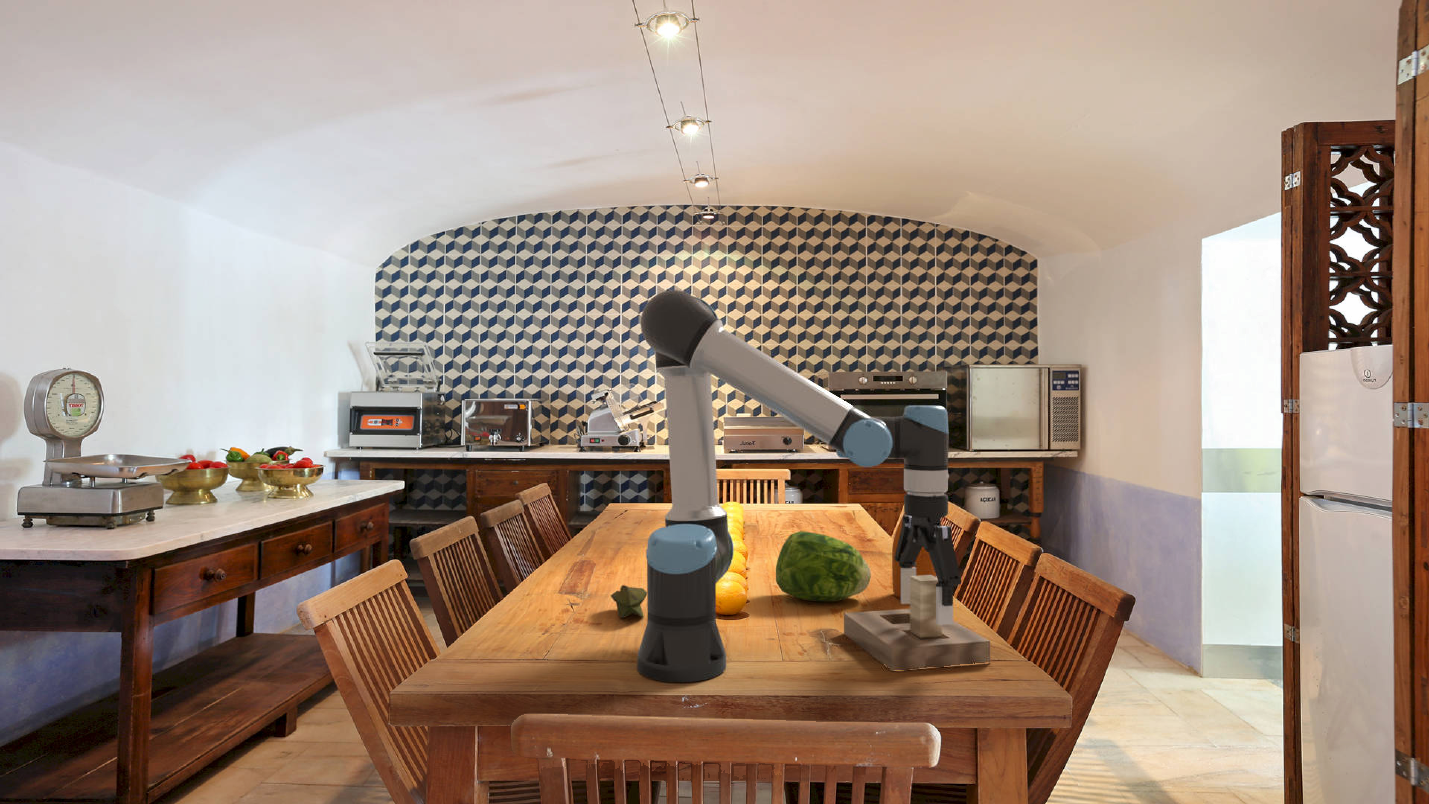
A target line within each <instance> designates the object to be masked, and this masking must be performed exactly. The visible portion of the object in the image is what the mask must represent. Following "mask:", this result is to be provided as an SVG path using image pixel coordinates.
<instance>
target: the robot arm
mask: <svg viewBox="0 0 1429 804" xmlns="http://www.w3.org/2000/svg"><path fill="white" fill-rule="evenodd" d="M640 329H641V333H642V337H643V338H644V340H645V342H646V344H647V345H649V346H650V348H651V349H653V350H654V357H655V358H654V359H655V371H656V372H657V373H658V374H660V375H661V376H662V377H663V379H664V384H665V385H664V386H665V387H664V388H665V389H664V390H665V404H666V407H665V408H666V420H667V437H668V452H669V453H668V455H669V470H670V471H669V473H670V488H671V506H672V507H671V508H670V509H669V511H668V512H667V513H666V514H665V516H664V525H665V526H663V527H659V528H656V529H655V530H653V531H652V533H651V534H650V535H649V536H648V538H647V547H646V554H645V555H646V556H645V558H646V579H647V581H646V582H647V583H646V585H647V586H646V587H647V588H646V592H647V595H646V597H647V599H646V600H647V601H646V602H647V603H646V605H647V607H646V608H647V620H646V621H647V624H646V625H645V629H644V633H643V635H642V639H641V643H640V645H639V649H638V652H637V657H636V658H637V659H636V666H637V667H636V669H637V671H638V673H639V672H640V673H639V674H640V675H642V676H643V677H645V678H648V679H651V680H655V681H660V682H668V683H691V682H692V683H693V682H700V681H705V680H709V679H713V678H715V677H717V676H720V675H721V674H723V673H724V672H725V671H726V669H727V652H726V649H725V647H724V643H723V640H722V636H721V634H720V631H719V628H718V624H717V612H716V611H717V609H716V608H717V607H716V606H717V597H716V592H717V591H716V590H717V585H716V584H717V583H718V582H719V581H720V580H721V579H722V578H723V577H724V575H725V574H727V572H728V571H729V569H730V566H731V565H732V561H733V558H734V550H735V549H734V543H733V539H732V537H731V534H730V532H729V525H728V513H727V511H726V510H725V509H724V508H723V507H722V506H721V504H720V503H719V494H718V493H719V492H718V477H717V475H718V473H717V462H716V461H717V458H716V444H715V441H716V440H715V426H714V425H715V424H714V413H713V412H714V411H713V393H712V392H713V391H712V390H713V389H712V376H714V377H715V378H717V379H719V380H721V381H723V383H726V384H727V385H729V386H730V387H732V388H734V389H736V390H737V391H739V392H741V393H742V394H745V395H746V396H747V397H748V398H751V399H752V400H754V401H755V402H757V403H759V404H760V405H762V406H764V407H765V408H767V409H769V410H771V411H772V412H773V413H775V414H777V415H779V416H780V417H782V418H784V419H785V420H787V421H788V422H790V423H793V425H795V426H797V427H799V428H800V429H802V430H804V431H805V432H806V433H809V434H810V435H812V436H813V437H815V438H817V439H818V440H820V441H822V442H823V443H826V444H827V445H829V446H830V447H831V448H833V449H835V450H836V455H837V457H839V458H841V459H843V458H844V459H848V460H849V461H851V462H852V463H854V464H855V465H857V466H859V467H861V468H871V467H876V466H879V465H880V464H883V462H884V461H885V460H886V459H887V460H891V459H894V460H902V459H903V461H904V468H903V490H904V491H905V492H906V493H905V494H904V495H903V502H904V503H903V514H904V513H905V514H906V515H902V517H903V518H902V517H901V519H902V529H901V533H900V537H899V541H898V545H897V549H896V553H895V561H898V562H899V566H900V567H901V598H900V604H901V605H910V576H916V568H915V567H911V566H917V565H916V562H915V561H916V559H917V557H918V555H919V553H920V551H921V548H922V546H923V547H924V549H925V551H927V552H928V553H929V555H930V558H931V561H932V564H933V567H934V570H935V573H936V578H937V579H938V582H937V584H936V624H937V625H945V624H953V621H954V587H956V586H959V585H961V584H962V579H961V573H960V569H959V565H958V560H957V555H956V552H955V551H956V550H955V547H954V542H953V535H952V527H951V525H942V522H941V519H942V518H945V517H946V516H948V514H949V496H948V495H947V494H945V493H946V492H947V491H949V490H948V489H949V487H948V486H949V478H950V474H949V471H948V469H949V438H950V437H949V434H950V432H949V417H948V411H947V409H946V408H945V407H944V406H942V405H907V406H905V408H904V412H903V415H899V416H870V415H868V414H867V413H865V412H863V411H862V410H860V409H858V408H856V407H854V406H853V405H851V404H850V403H848V402H847V401H846V400H845V401H844V400H843V399H842V398H840V397H838V396H836V395H835V394H833V393H831V392H830V391H828V390H826V389H825V388H823V387H821V386H820V385H818V384H817V383H815V382H813V381H811V379H808V378H807V377H805V376H803V375H802V374H800V373H798V372H796V371H795V370H793V369H792V368H790V367H788V366H786V365H785V364H783V363H781V362H779V361H778V360H776V359H775V358H773V357H771V356H769V355H768V354H766V353H765V352H764V351H762V350H760V349H758V348H756V347H755V346H753V345H751V344H749V343H748V342H746V341H745V340H743V339H742V338H740V337H738V336H736V335H735V334H733V333H731V332H729V331H728V330H726V329H725V328H724V325H723V321H722V320H721V319H720V318H718V315H717V314H716V312H715V310H714V308H712V306H711V305H710V304H708V302H706V301H705V300H703V299H701V298H699V297H697V296H693V295H691V294H690V293H688V292H685V291H682V290H677V289H675V290H674V289H671V290H665V291H662V292H659V293H657V294H656V295H654V296H653V297H651V299H650V300H649V301H648V302H647V303H646V305H645V306H644V307H643V310H642V313H641V317H640ZM901 553H903V554H902V555H901ZM724 670H725V671H724ZM723 671H724V672H723ZM722 672H723V673H722ZM719 674H720V675H719Z"/></svg>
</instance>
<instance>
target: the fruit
mask: <svg viewBox="0 0 1429 804" xmlns="http://www.w3.org/2000/svg"><path fill="white" fill-rule="evenodd" d="M610 597H611V599H612V600H613V601H614V602H615V603H616V609H617V613H618V617H619V618H620V619H622V618H623V619H624V618H625V617H628V616H630V615H631V614H634V615H636V616H639V617H641V618H644V612H643V610H642V606H641V604H642V603H643V602H644V601H645V599H646V597H647V590H645V589H644V588H642V587H639V588H638V587H629V586H628V585H624V584H623V585H621V586H620V589H619V590H616V591H615V592H613V593H612V594H611V595H610Z"/></svg>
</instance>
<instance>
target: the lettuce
mask: <svg viewBox="0 0 1429 804" xmlns="http://www.w3.org/2000/svg"><path fill="white" fill-rule="evenodd" d="M871 576H872V573H871V568H870V566H869V564H868V563H867V561H866V559H864V557H863V556H862V555H861V553H860V551H859V550H857V548H856V547H854V546H853V545H851V544H850V543H848V542H845V541H843V540H840V539H837V538H835V537H832V536H829V535H825V534H821V533H816V532H810V531H806V530H805V531H803V530H800V531H797V532H794V533H791V534H790V535H789V536H788V538H786V540H785V541H784V543H783V545H782V547H781V549H780V551H779V554H778V558H777V561H776V565H775V582H776V584H777V585H778V587H779V588H780V591H782V593H785V594H787V595H789V596H791V597H794V598H797V599H799V600H803V601H810V602H836V601H842V600H845V599H848V598H850V597H853V596H855V595H859V594H861V593H863V592H864V591H865V590H866V589H867V588H868V587H869V585H870V581H871V578H872V577H871Z"/></svg>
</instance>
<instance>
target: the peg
mask: <svg viewBox="0 0 1429 804" xmlns="http://www.w3.org/2000/svg"><path fill="white" fill-rule="evenodd" d="M937 582H938V579H937V576H936V577H934V576H932V575H920V576H910V604H909V609H910V636H911V637H913V638H914V639H916V640H917V641H920V640H934V639H942V625H937V624H936V584H937Z"/></svg>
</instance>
